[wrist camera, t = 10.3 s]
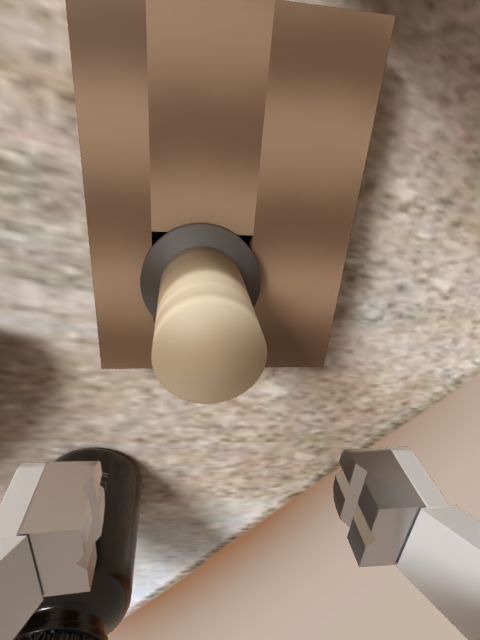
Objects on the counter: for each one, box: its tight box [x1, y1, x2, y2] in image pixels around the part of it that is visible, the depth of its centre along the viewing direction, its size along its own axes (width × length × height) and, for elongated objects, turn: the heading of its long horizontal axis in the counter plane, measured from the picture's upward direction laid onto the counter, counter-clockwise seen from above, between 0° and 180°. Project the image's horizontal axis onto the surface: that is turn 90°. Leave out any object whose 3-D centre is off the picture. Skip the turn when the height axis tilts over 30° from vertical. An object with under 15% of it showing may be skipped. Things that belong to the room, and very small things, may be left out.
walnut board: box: [66, 0, 396, 369], centre depth 19 cm, size 16×12×4 cm
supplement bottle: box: [13, 448, 141, 640], centre depth 24 cm, size 7×7×12 cm
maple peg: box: [140, 223, 267, 404], centre depth 17 cm, size 6×6×10 cm
